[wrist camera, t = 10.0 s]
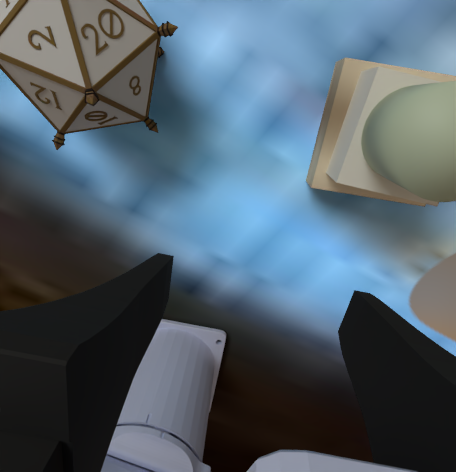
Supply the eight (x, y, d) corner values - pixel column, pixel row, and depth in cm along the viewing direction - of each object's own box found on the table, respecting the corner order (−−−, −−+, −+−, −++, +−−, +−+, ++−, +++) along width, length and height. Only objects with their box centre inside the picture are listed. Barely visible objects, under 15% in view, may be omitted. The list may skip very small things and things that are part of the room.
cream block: (414, 193, 19) (436, 206, 17) (325, 172, 19) (336, 182, 17) (460, 96, 17) (493, 94, 15) (361, 71, 17) (378, 66, 14)
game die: (131, 34, 22) (99, -183, 12) (200, 134, 21) (224, -12, 11) (1, 87, 19) (-169, -130, 10) (73, 201, 19) (-32, 90, 9)
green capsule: (438, 183, 16) (493, 206, 13) (352, 175, 16) (382, 197, 13) (470, 88, 15) (545, 83, 11) (373, 81, 15) (415, 74, 11)
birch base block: (406, 195, 22) (424, 206, 19) (304, 178, 22) (311, 187, 19) (449, 82, 19) (477, 79, 17) (333, 63, 19) (345, 57, 17)
